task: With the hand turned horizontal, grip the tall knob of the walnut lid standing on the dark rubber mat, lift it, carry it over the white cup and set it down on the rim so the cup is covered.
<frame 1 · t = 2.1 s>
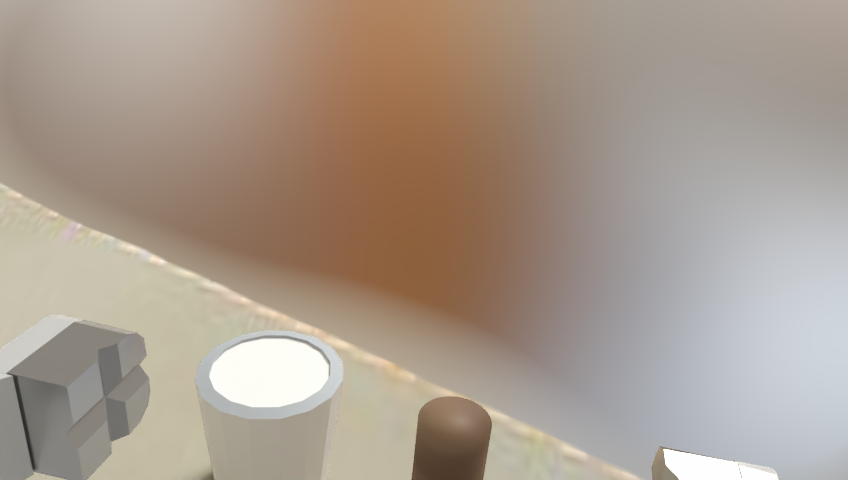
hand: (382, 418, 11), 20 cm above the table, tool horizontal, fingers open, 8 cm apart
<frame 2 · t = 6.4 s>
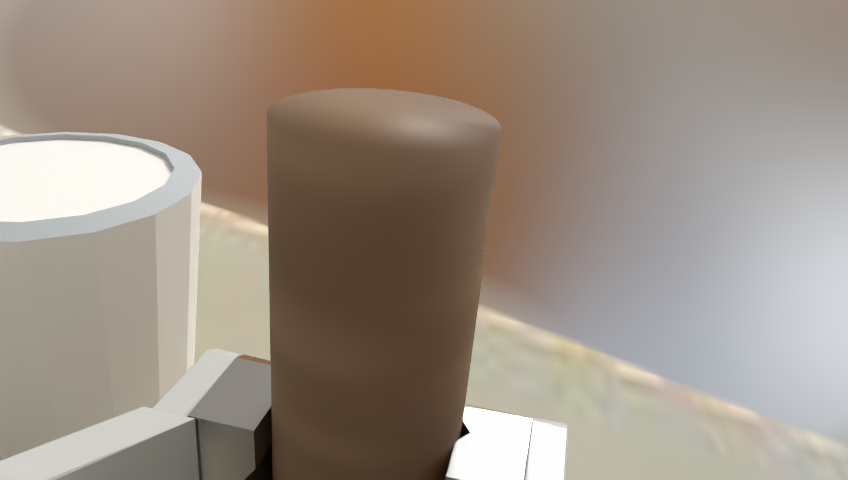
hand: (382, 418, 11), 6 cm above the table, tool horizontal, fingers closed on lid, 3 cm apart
white cup: (85, 417, 19), on the table
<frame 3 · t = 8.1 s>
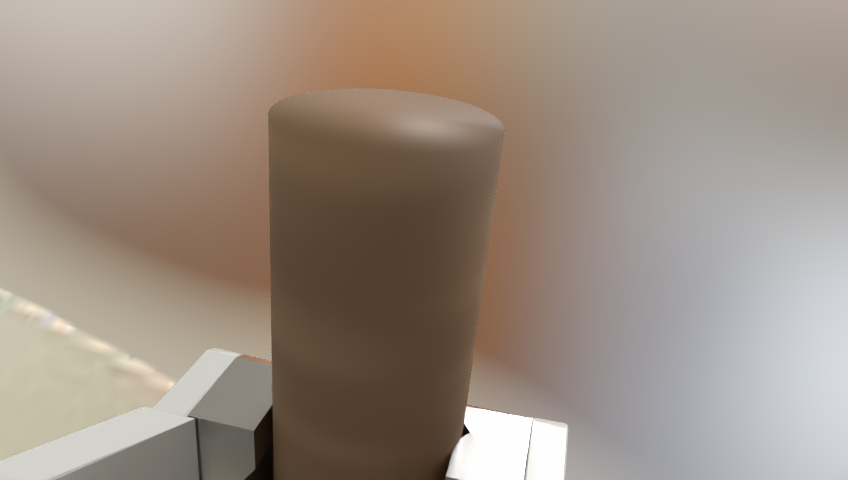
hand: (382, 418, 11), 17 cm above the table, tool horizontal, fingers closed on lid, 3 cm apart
when the fingers open (14 cm above the table, at t = 9.7 s): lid drops 1 cm, resting on white cup.
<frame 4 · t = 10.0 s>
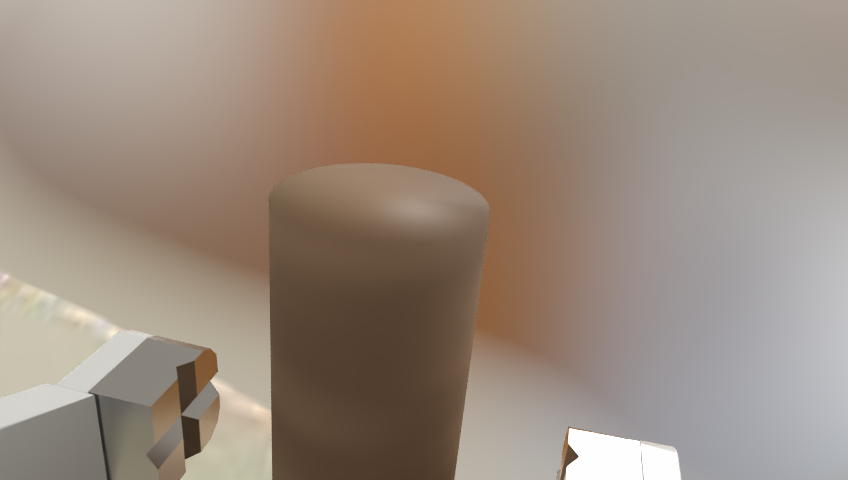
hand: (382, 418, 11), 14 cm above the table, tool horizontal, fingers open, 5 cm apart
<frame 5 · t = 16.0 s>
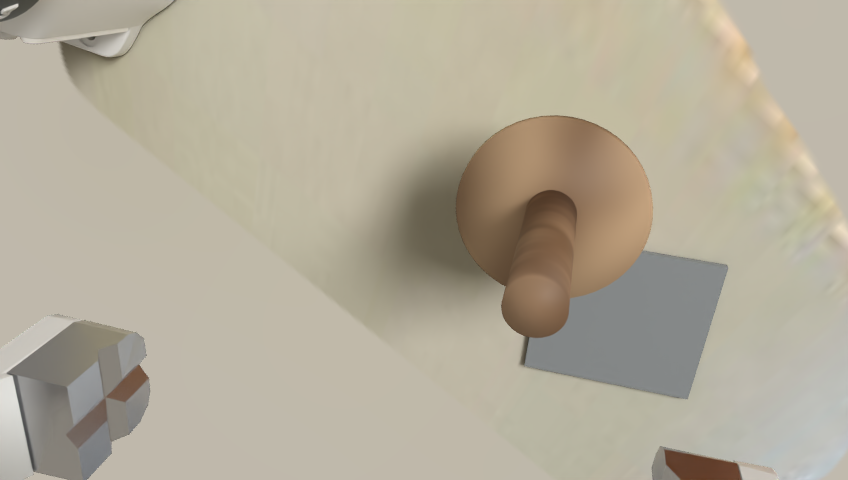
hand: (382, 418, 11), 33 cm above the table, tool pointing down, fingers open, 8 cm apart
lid: (551, 209, 36), point 7 cm above the table, touching white cup
mat: (619, 317, 46), on the table
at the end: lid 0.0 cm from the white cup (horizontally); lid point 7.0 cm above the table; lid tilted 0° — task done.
